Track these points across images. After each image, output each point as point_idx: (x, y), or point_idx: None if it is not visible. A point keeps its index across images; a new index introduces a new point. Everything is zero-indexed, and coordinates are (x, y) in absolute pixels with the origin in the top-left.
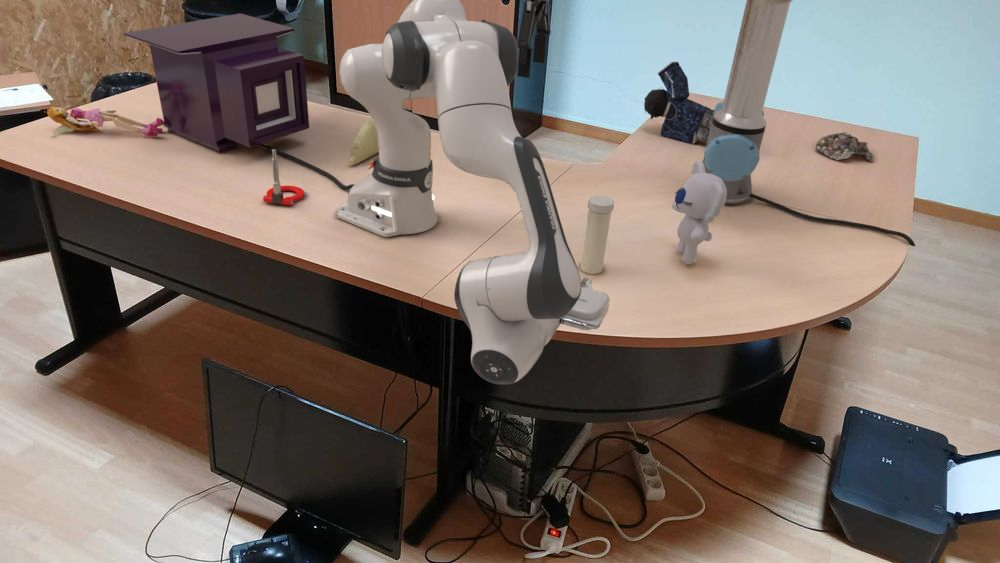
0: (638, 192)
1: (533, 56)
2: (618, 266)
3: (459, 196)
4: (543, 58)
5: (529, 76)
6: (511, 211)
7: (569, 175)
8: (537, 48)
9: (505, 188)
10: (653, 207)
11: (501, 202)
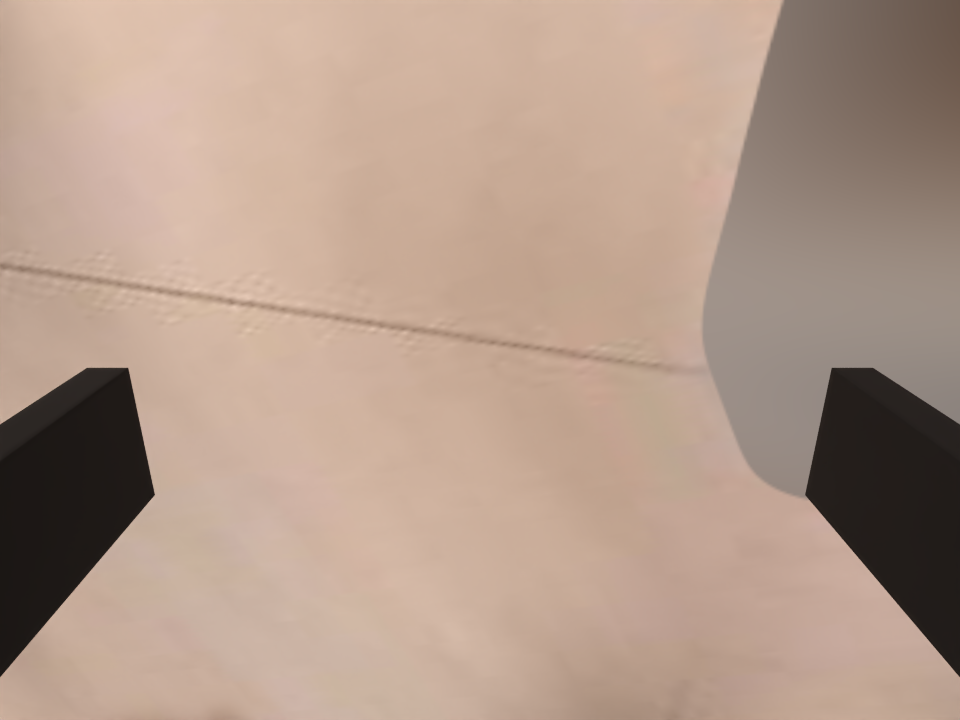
0: (536, 608)
1: (871, 398)
2: None
3: (162, 6)
4: (836, 524)
5: (140, 500)
6: (161, 263)
7: (588, 382)
8: (944, 511)
9: (346, 177)
10: (442, 656)
11: (212, 203)
